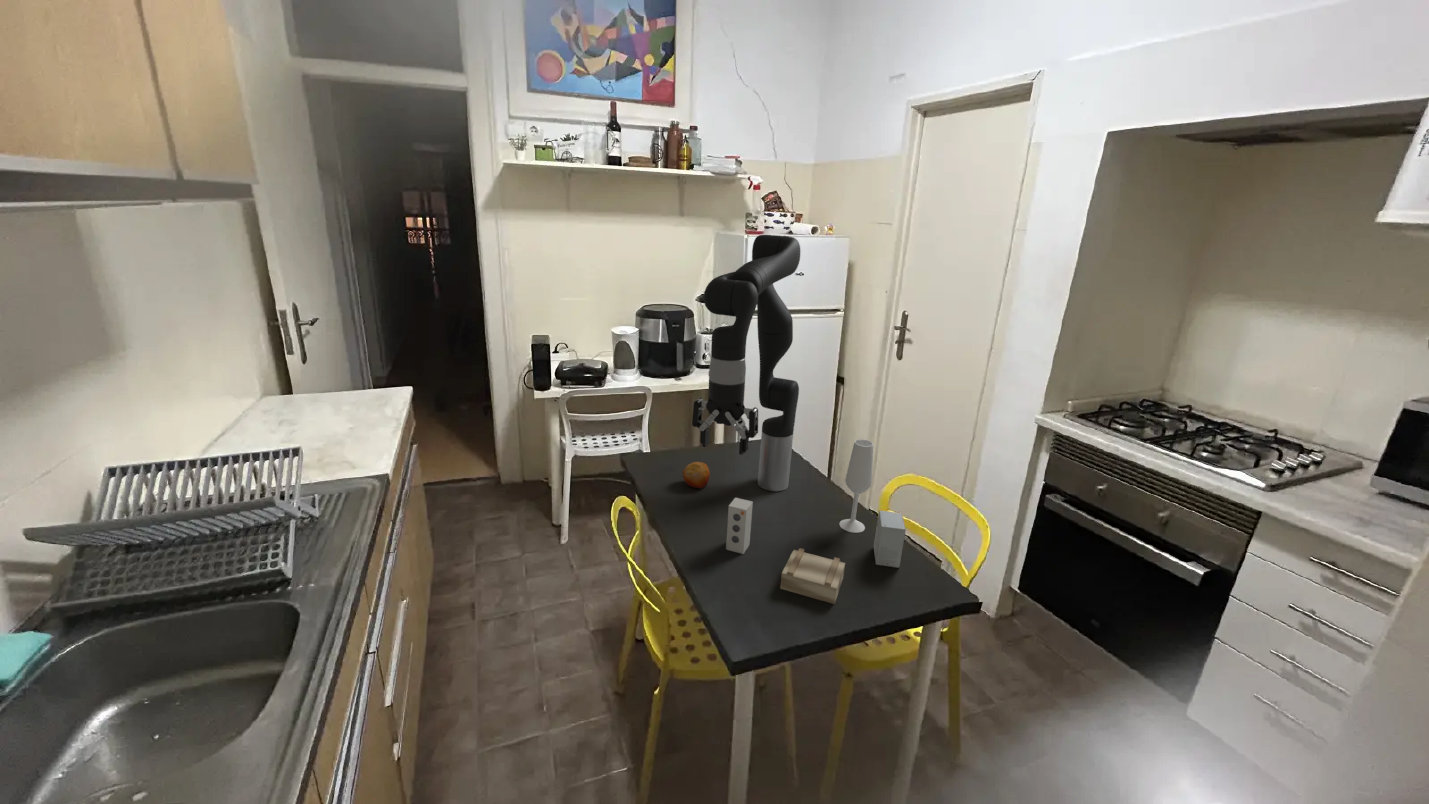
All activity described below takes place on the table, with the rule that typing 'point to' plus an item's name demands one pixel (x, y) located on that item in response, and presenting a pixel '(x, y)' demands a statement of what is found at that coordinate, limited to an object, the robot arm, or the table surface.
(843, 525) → the champagne flute
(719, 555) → the table surface
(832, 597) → the brown wooden ridged block
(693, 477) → the fruit
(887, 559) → the small box
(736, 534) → the tall grey box
